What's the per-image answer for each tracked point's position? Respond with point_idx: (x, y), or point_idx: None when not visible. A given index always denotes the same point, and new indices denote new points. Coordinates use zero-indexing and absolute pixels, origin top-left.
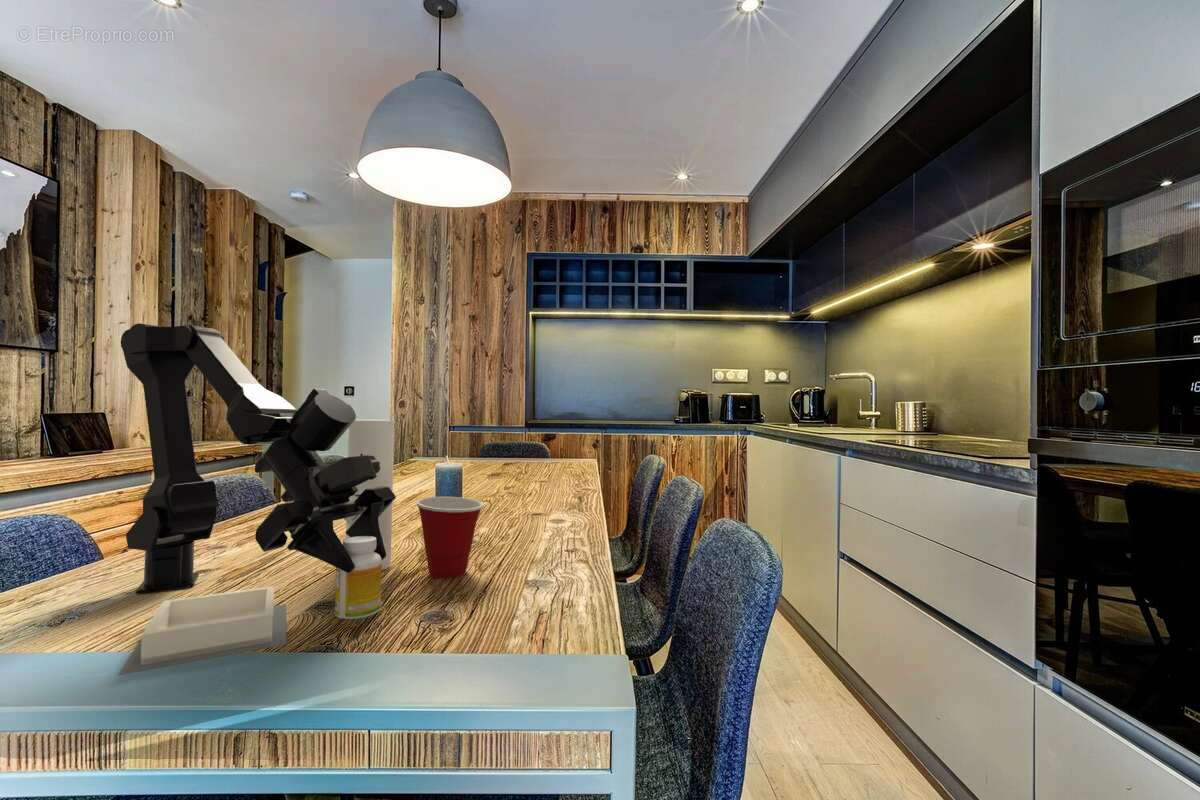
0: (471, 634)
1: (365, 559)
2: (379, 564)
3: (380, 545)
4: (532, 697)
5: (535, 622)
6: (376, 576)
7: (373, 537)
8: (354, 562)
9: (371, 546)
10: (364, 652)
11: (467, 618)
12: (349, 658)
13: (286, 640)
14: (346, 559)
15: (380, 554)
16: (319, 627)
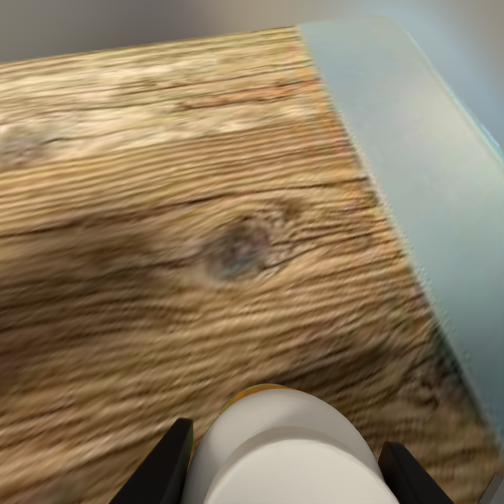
0: (293, 166)
1: (333, 429)
2: (263, 391)
3: (165, 470)
4: (415, 66)
5: (225, 106)
6: (280, 387)
7: (229, 498)
8: (375, 467)
9: (309, 432)
10: (422, 289)
11: (231, 196)
12: (452, 300)
13: (493, 496)
14: (441, 489)
15: (187, 447)
16: None
